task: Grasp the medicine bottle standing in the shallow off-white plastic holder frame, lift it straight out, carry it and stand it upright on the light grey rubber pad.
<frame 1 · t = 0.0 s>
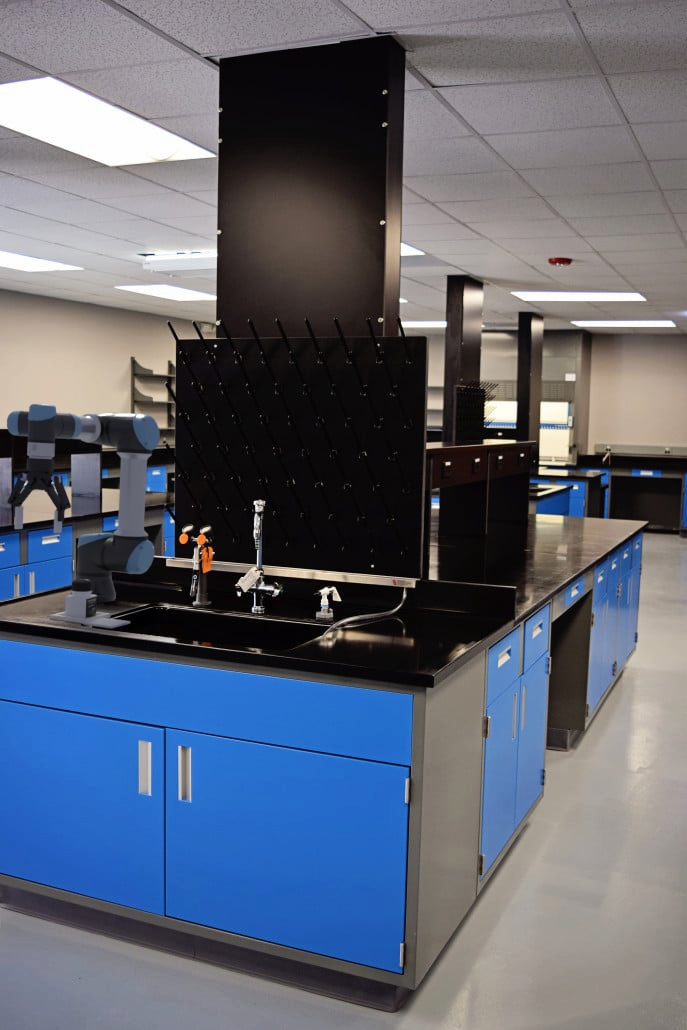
hand: (37, 530, 274), 28 cm above the counter, fingers open, 13 cm apart
pad: (106, 623, 285), on the counter
medicine bottle: (80, 618, 292), resting in holder
holder: (80, 618, 292), on the counter
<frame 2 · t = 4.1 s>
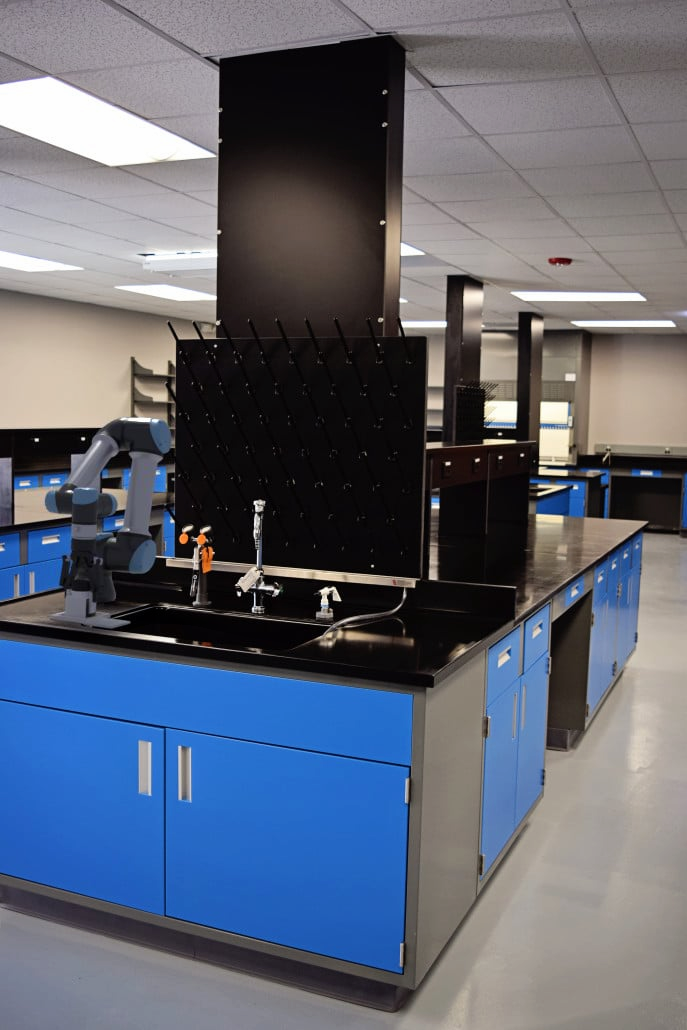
hand: (80, 611, 292), 2 cm above the counter, fingers closed on medicine bottle, 7 cm apart
medicine bottle: (80, 618, 292), resting in holder, touching gripper
when the fingers open (4 cm above the counter, at t = 9.4 s): medicine bottle drops 1 cm, resting on pad.
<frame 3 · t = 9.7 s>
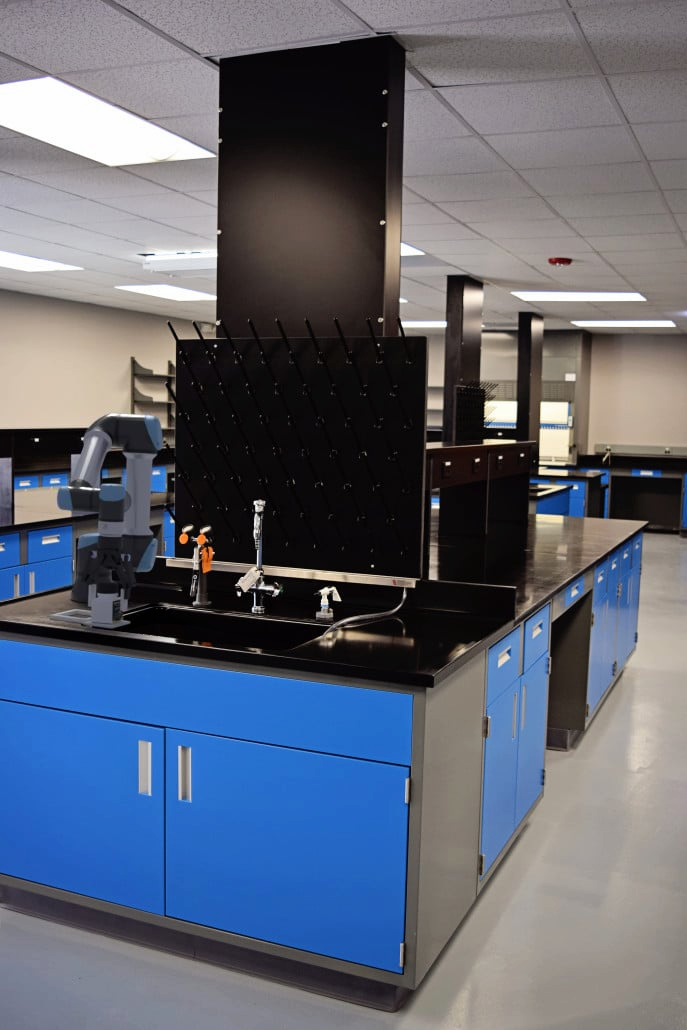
hand: (107, 607, 285), 5 cm above the counter, fingers open, 10 cm apart
medicine bottle: (107, 622, 285), point 1 cm above the counter, touching pad
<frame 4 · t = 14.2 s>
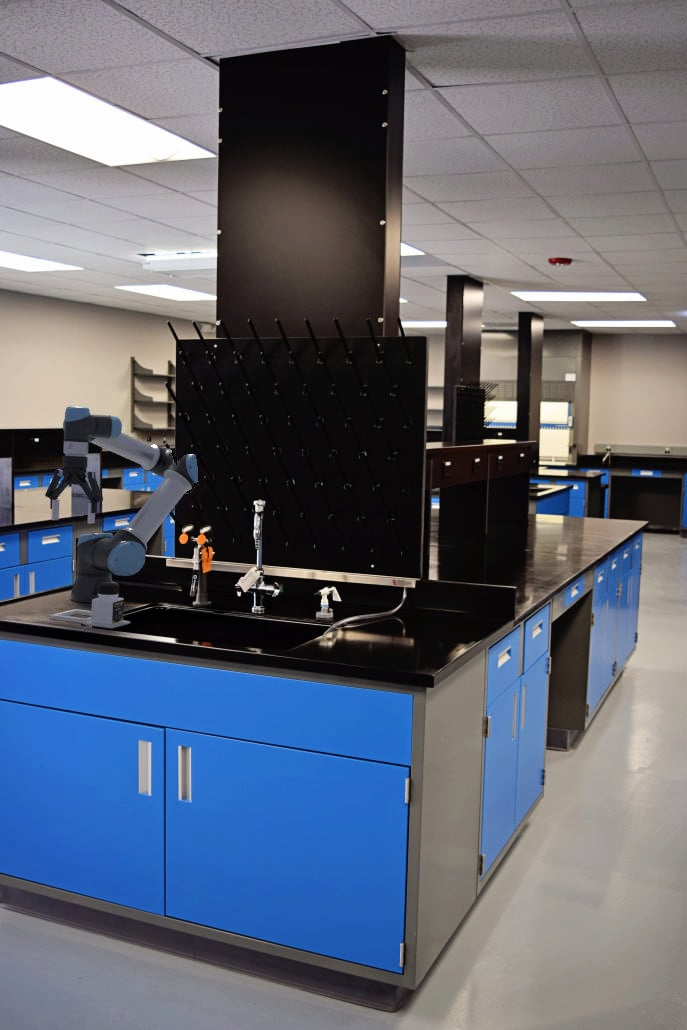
hand: (72, 521, 302), 29 cm above the counter, fingers open, 13 cm apart
nothing on the counter moved.
at the end: medicine bottle inside the target area on the pad (0.0 cm from its centre), point 0.4 cm above the pad's base; medicine bottle tilted 0°; the gripper is holding nothing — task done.
